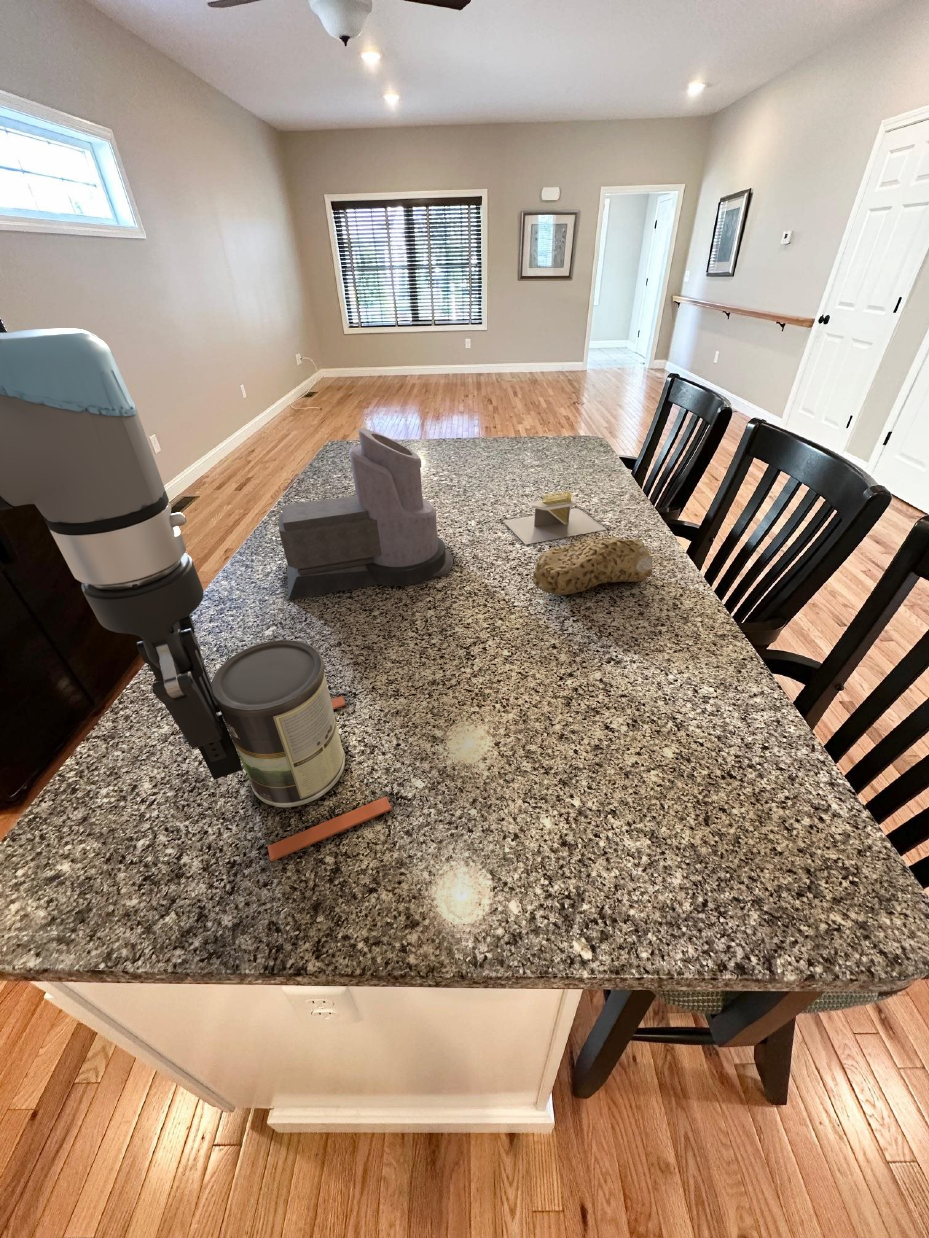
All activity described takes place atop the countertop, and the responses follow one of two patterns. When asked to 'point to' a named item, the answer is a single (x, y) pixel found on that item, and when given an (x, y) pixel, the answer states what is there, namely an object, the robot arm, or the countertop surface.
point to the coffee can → (281, 721)
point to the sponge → (591, 565)
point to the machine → (365, 527)
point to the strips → (329, 826)
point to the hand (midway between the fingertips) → (227, 769)
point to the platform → (553, 520)
